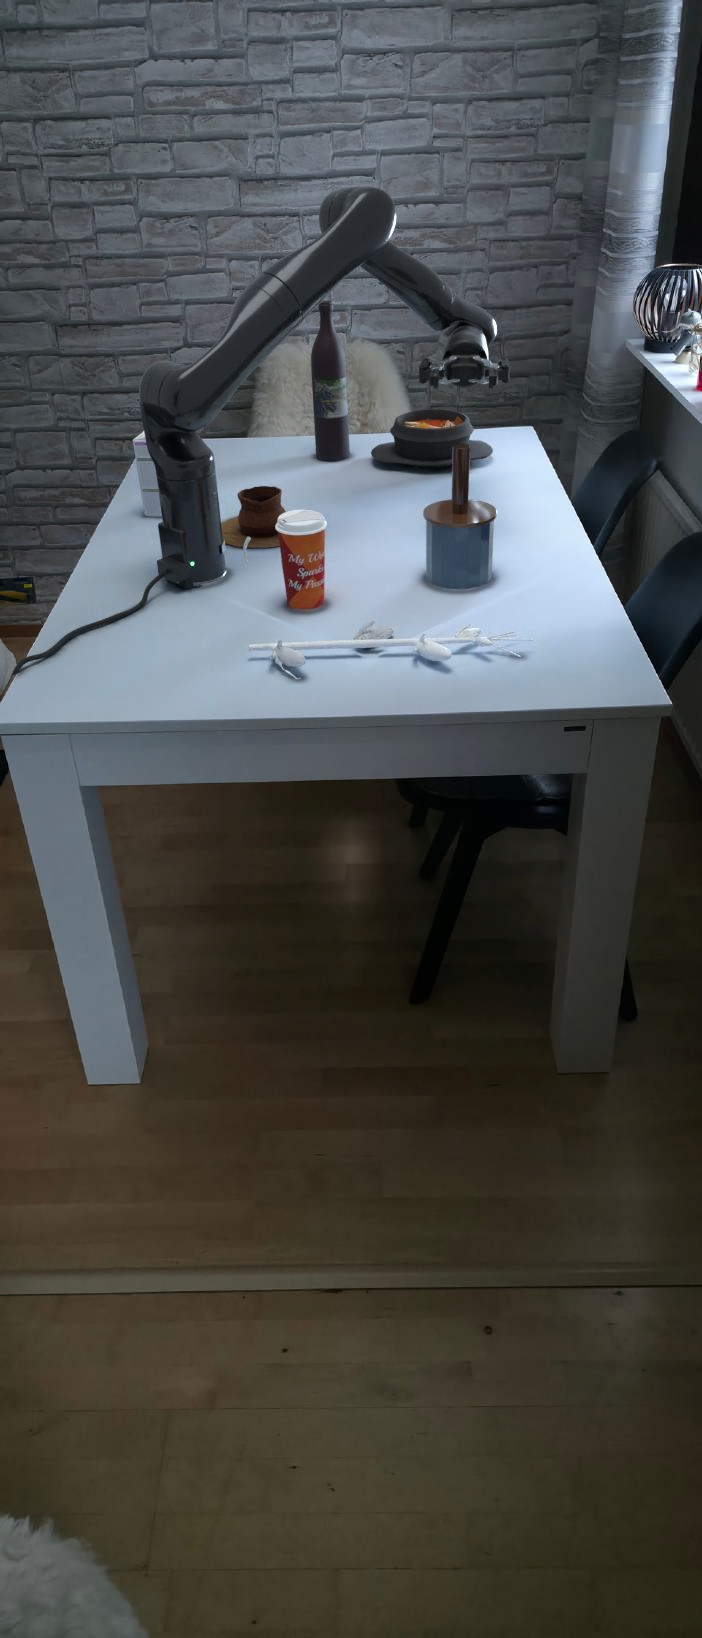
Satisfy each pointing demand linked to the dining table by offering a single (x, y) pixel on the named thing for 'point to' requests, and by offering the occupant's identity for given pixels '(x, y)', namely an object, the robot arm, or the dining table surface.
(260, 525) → the ceramic pot
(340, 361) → the wine bottle
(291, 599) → the paper cup
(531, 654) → the dining table surface
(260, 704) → the dining table surface
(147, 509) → the syrup box
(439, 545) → the blue faceted canister
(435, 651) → the dried plant stem
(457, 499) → the paper towel holder
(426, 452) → the casserole
